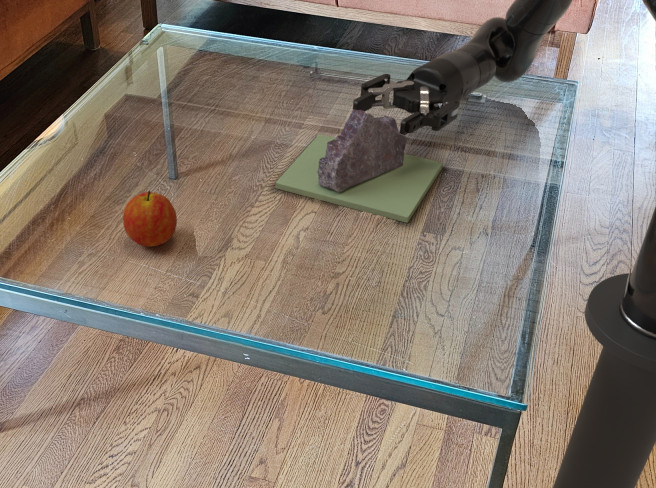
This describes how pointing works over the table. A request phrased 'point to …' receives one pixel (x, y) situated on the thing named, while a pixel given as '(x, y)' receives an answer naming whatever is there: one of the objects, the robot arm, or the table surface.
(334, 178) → the stone
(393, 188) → the mat
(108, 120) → the table surface
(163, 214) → the fruit
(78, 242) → the table surface
